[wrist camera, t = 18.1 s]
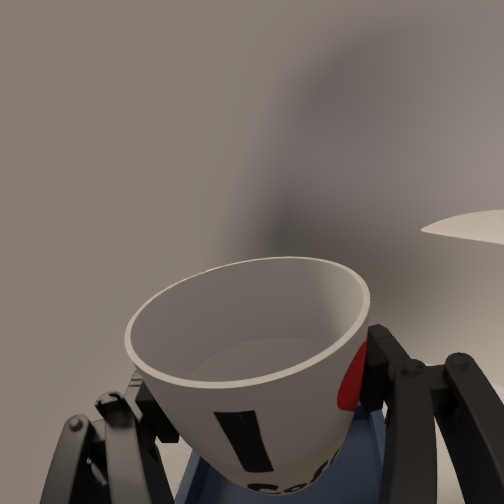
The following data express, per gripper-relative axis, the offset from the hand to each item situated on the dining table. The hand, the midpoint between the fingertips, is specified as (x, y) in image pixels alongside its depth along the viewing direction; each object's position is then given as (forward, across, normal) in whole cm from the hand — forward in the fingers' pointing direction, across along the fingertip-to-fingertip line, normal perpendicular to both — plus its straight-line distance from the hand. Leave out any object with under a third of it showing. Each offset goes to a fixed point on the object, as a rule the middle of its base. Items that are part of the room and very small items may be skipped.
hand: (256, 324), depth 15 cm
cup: (-5, 0, -6) cm, 8 cm away
